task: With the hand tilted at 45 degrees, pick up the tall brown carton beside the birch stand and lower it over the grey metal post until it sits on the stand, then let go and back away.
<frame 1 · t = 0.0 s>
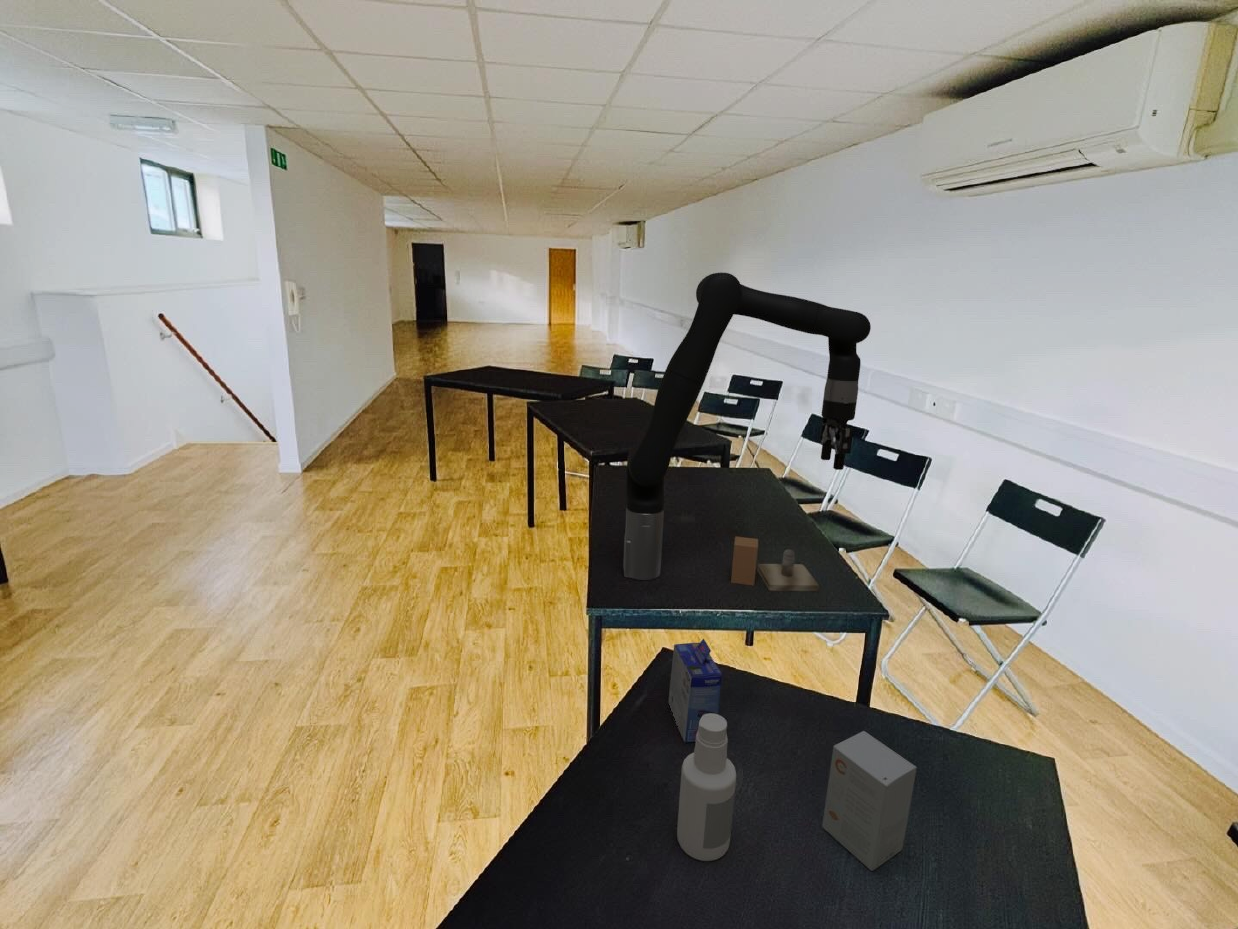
hand: (831, 464, 154), 29 cm above the table, tool pointing down, fingers open, 8 cm apart
small box: (860, 840, 83), on the table
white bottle: (702, 841, 82), on the table
ink cartridge box: (691, 724, 105), on the table
post stand: (786, 579, 158), on the table
tall brown carton: (742, 579, 157), on the table
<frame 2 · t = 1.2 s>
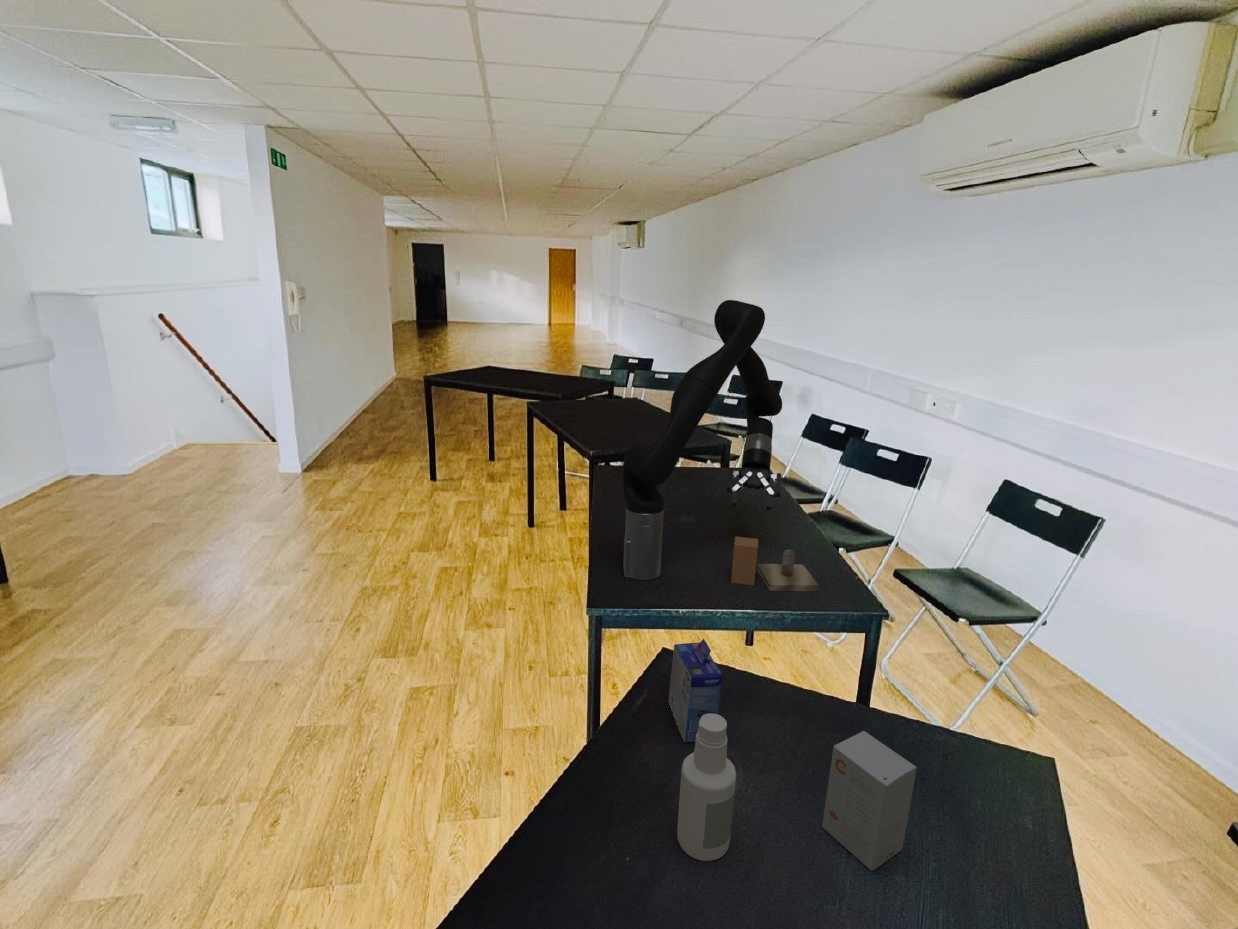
hand: (751, 507, 164), 15 cm above the table, tool tilted 45°, fingers open, 8 cm apart
nothing on the table moved.
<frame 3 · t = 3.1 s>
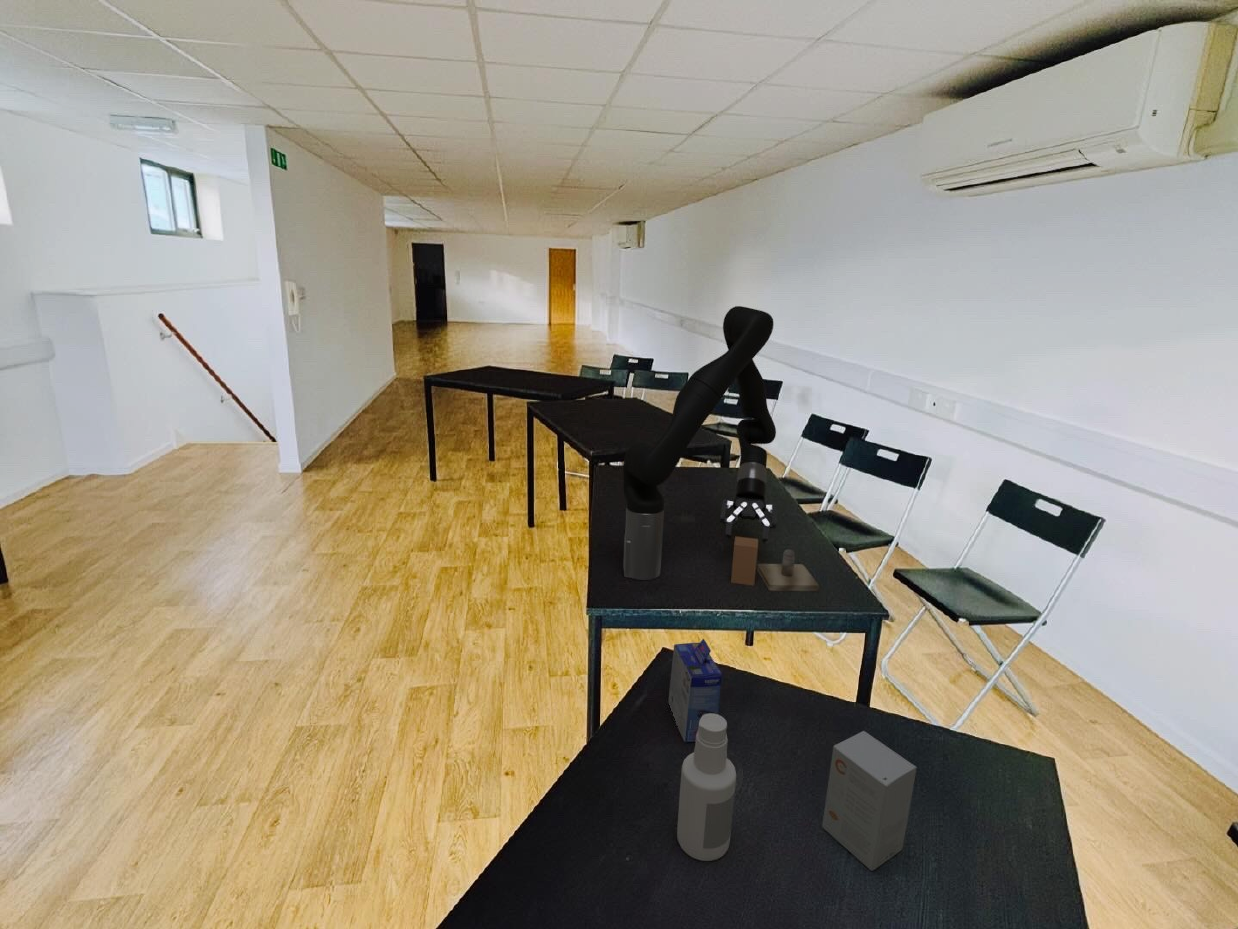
hand: (746, 539, 159), 9 cm above the table, tool tilted 45°, fingers open, 8 cm apart
nothing on the table moved.
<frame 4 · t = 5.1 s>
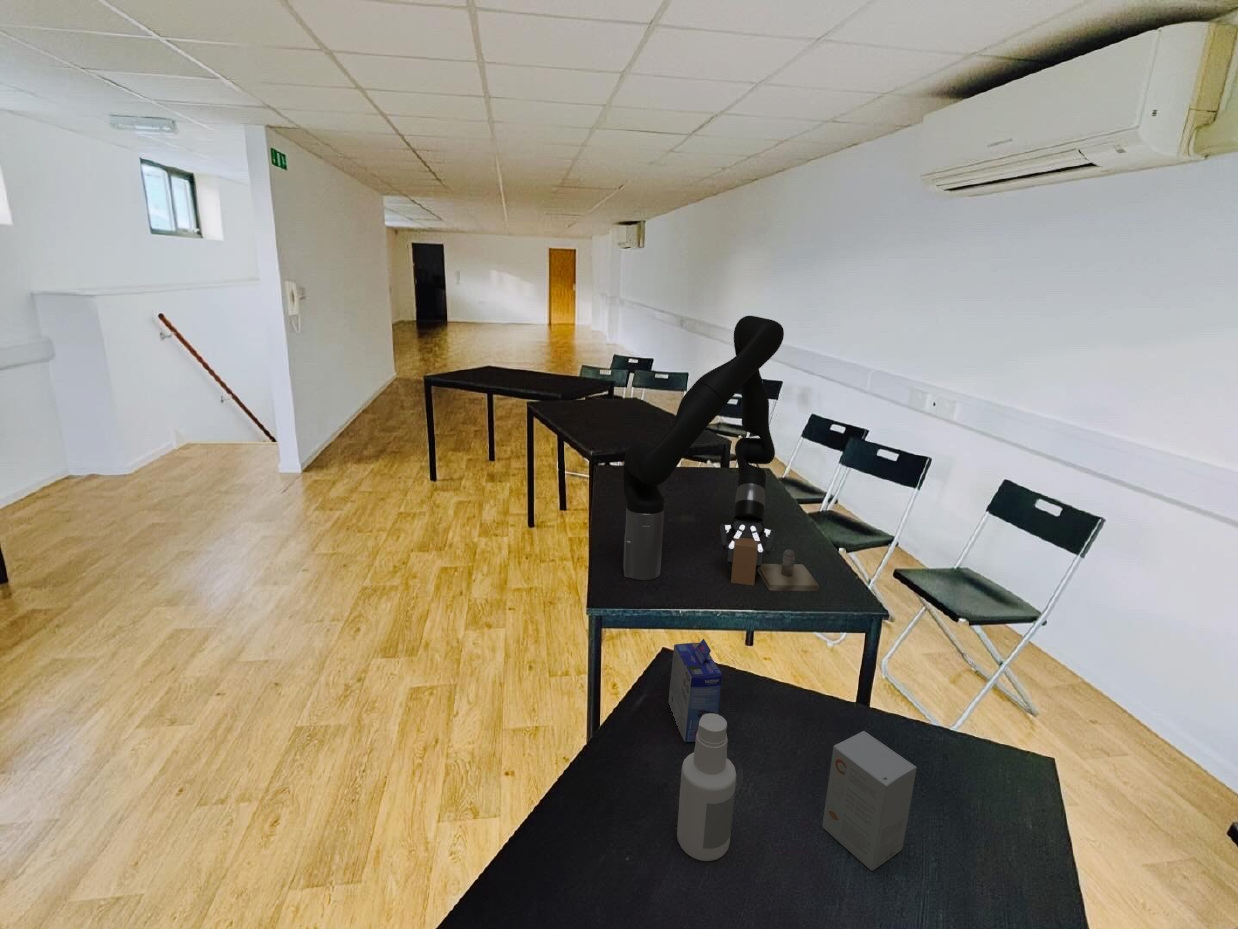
hand: (744, 566, 155), 4 cm above the table, tool tilted 45°, fingers closed on tall brown carton, 5 cm apart
tall brown carton: (742, 579, 157), on the table, touching gripper
everything else where it was.
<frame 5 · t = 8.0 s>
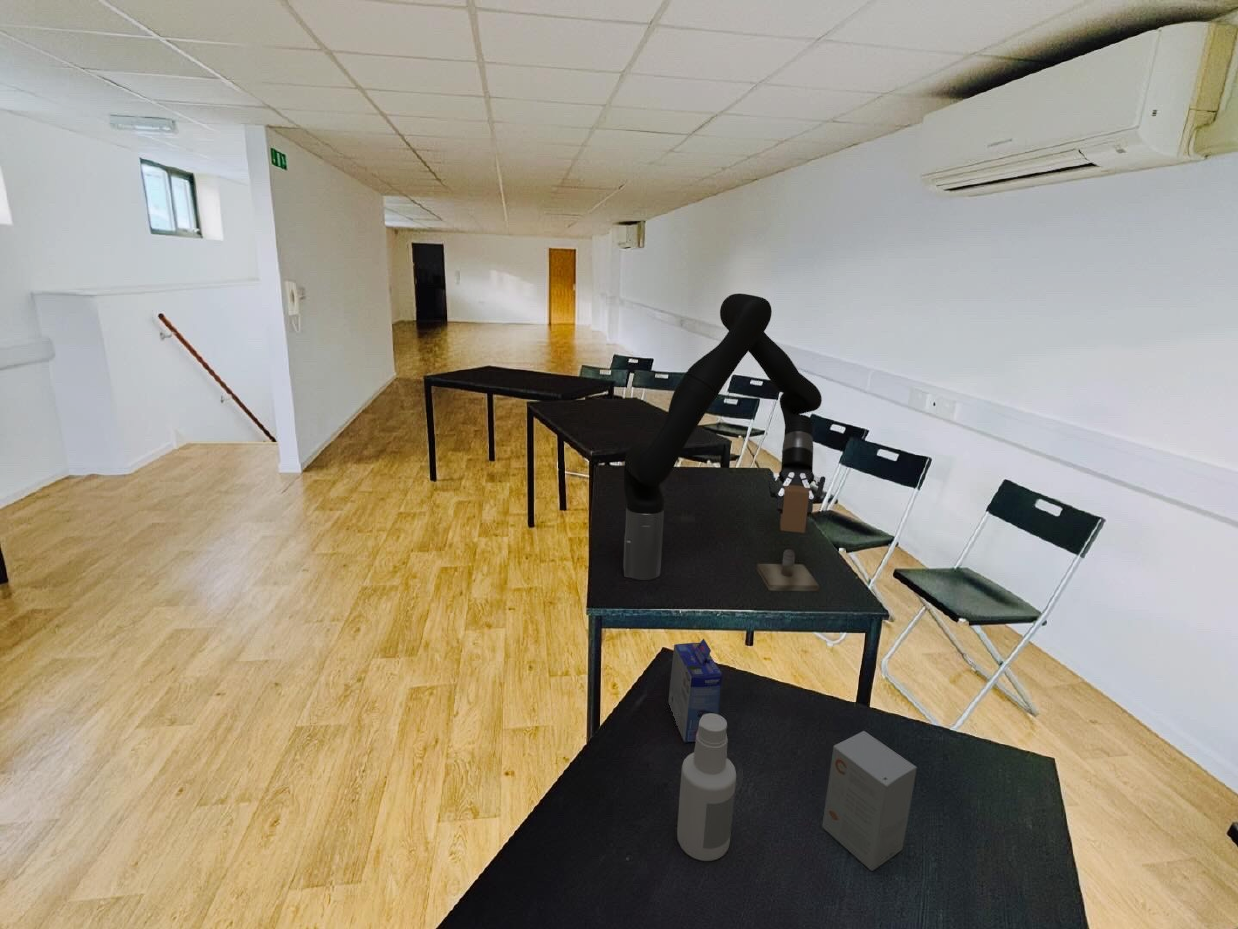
hand: (794, 513, 152), 18 cm above the table, tool tilted 45°, fingers closed on tall brown carton, 5 cm apart
tall brown carton: (792, 527, 154), point 14 cm above the table, touching gripper
everything else where it was.
when the fingers open (7 cm above the table, at t = 11.2 s): tall brown carton stays where it is, resting on post stand.
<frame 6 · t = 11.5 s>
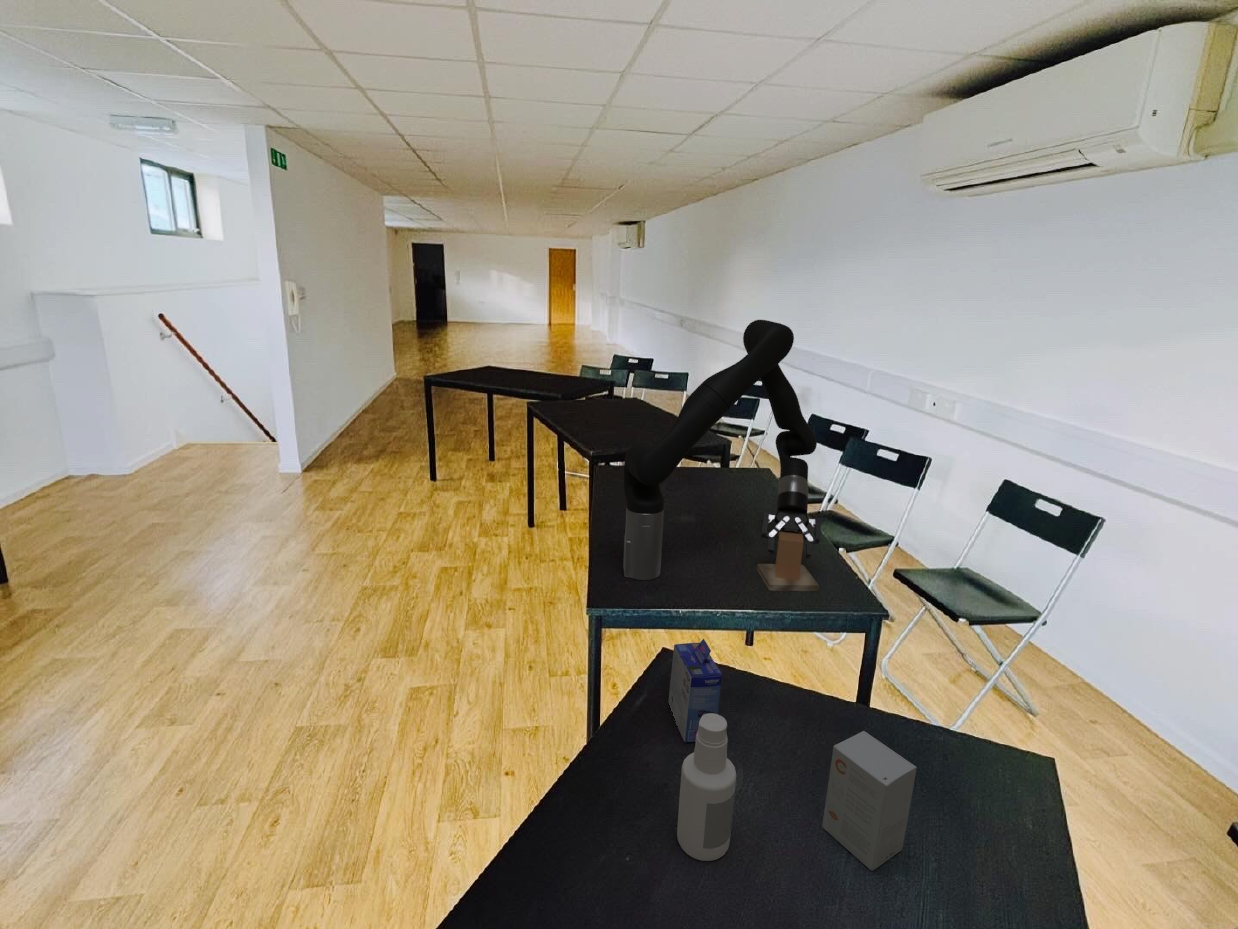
hand: (789, 555, 155), 7 cm above the table, tool tilted 45°, fingers open, 8 cm apart
tall brown carton: (786, 574, 158), point 1 cm above the table, touching post stand
everything else where it was.
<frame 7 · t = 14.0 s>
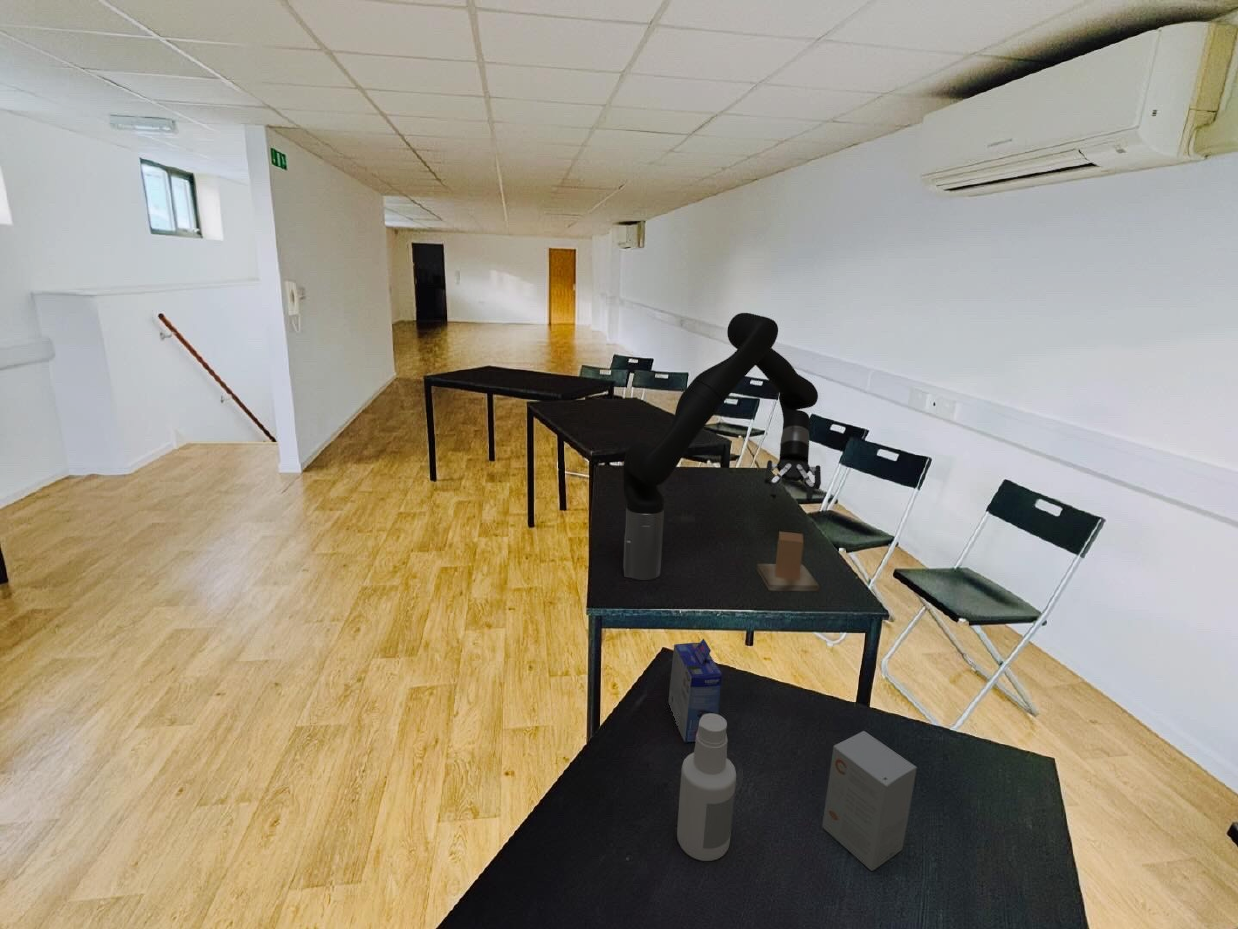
hand: (791, 499, 164), 17 cm above the table, tool tilted 45°, fingers open, 8 cm apart
nothing on the table moved.
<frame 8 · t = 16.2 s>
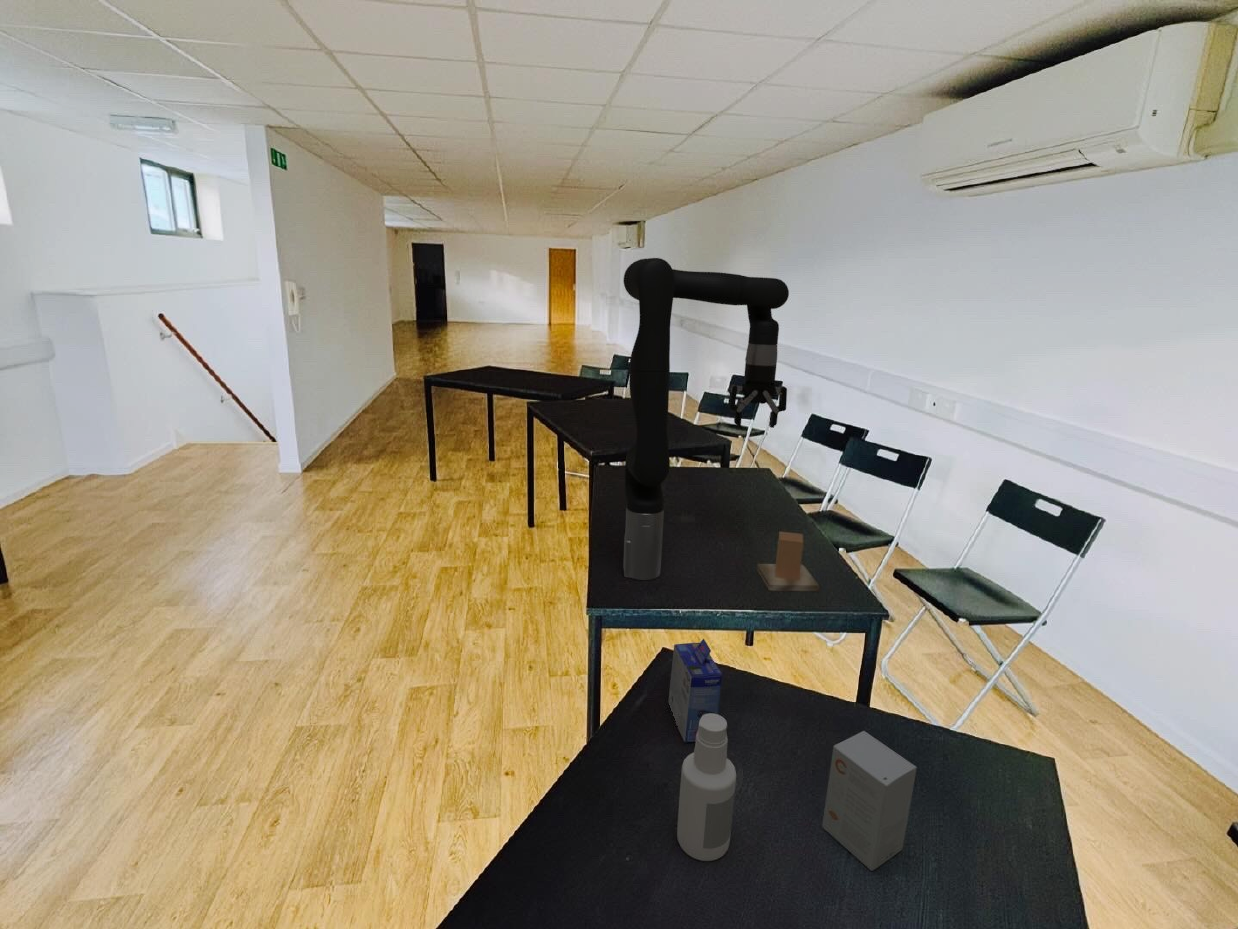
hand: (755, 426, 160), 36 cm above the table, tool pointing down, fingers open, 8 cm apart
nothing on the table moved.
at the end: tall brown carton 0.1 cm off-centre on the post stand, point 1.5 cm above the post stand's base; tall brown carton tilted 0°; the gripper is holding nothing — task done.
